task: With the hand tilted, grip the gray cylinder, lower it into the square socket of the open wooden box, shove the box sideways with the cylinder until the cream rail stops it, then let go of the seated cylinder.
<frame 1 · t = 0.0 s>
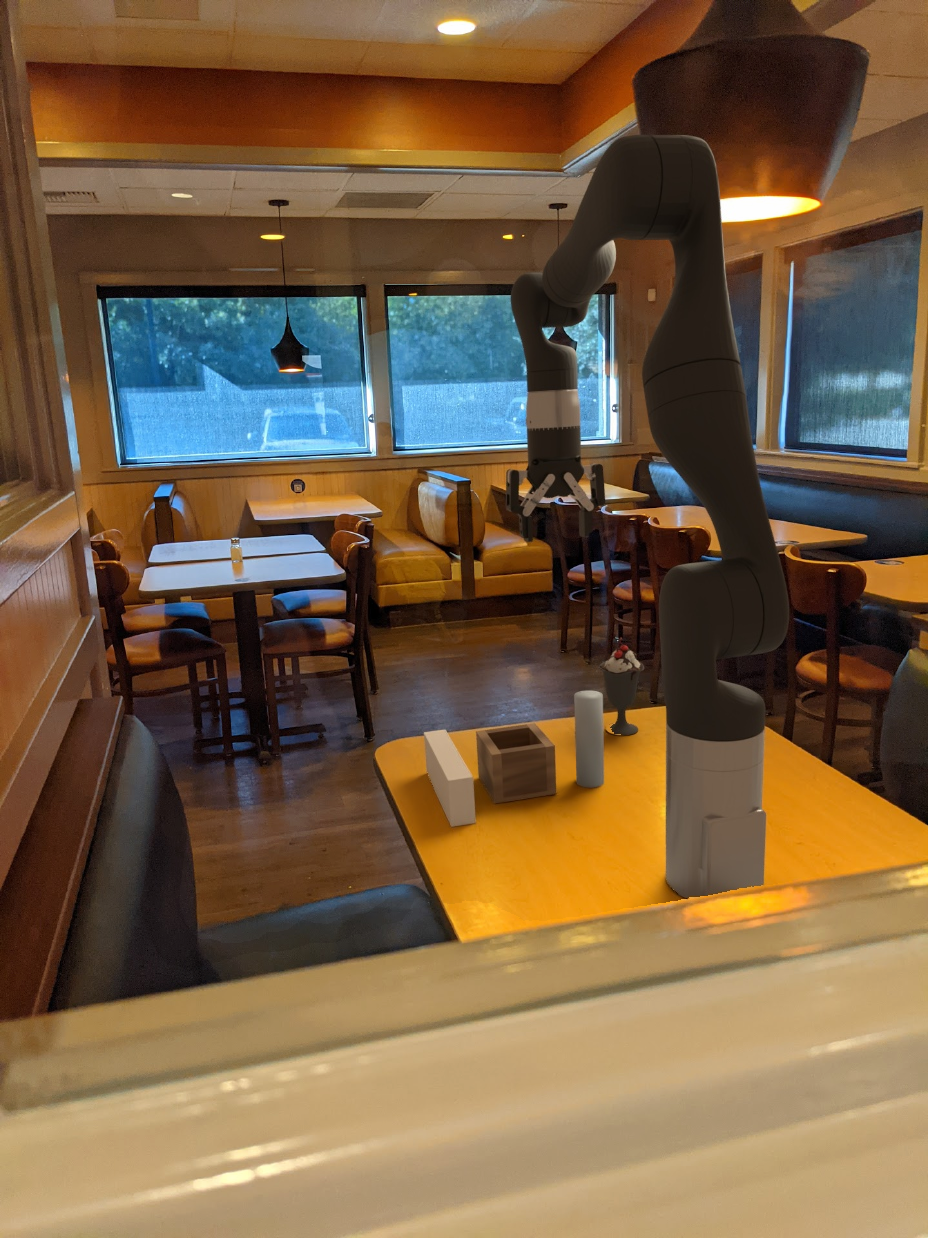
hand: (556, 539, 120), 29 cm above the table, tool pointing down, fingers open, 8 cm apart
rail: (449, 796, 107), on the table
sundae: (621, 731, 126), on the table
open wooden box: (515, 762, 108), point 3 cm above the table, slide at 0.0 cm
gray cylinder: (590, 781, 109), on the table
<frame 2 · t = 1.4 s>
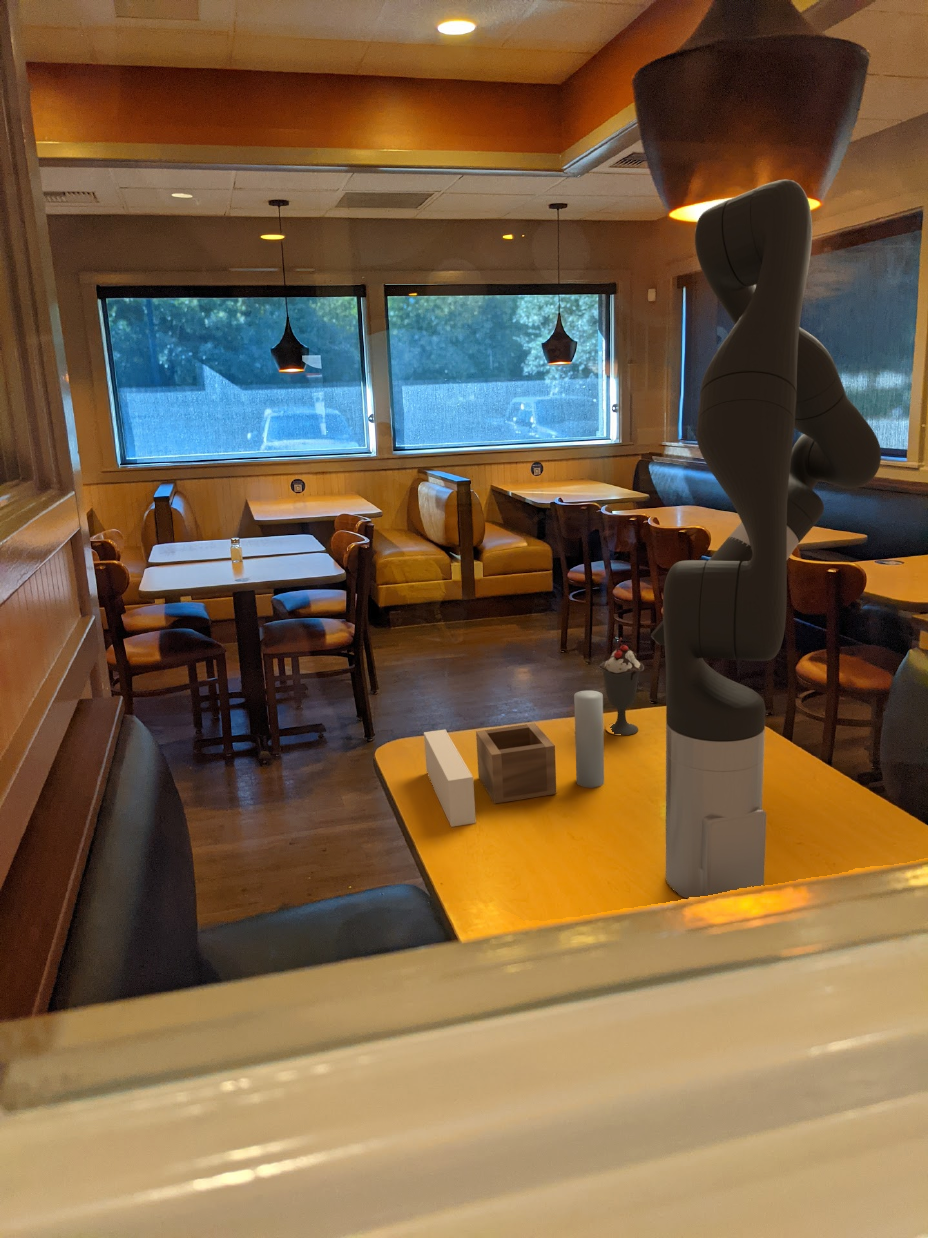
hand: (670, 649, 107), 17 cm above the table, tool tilted 45°, fingers open, 8 cm apart
nothing on the table moved.
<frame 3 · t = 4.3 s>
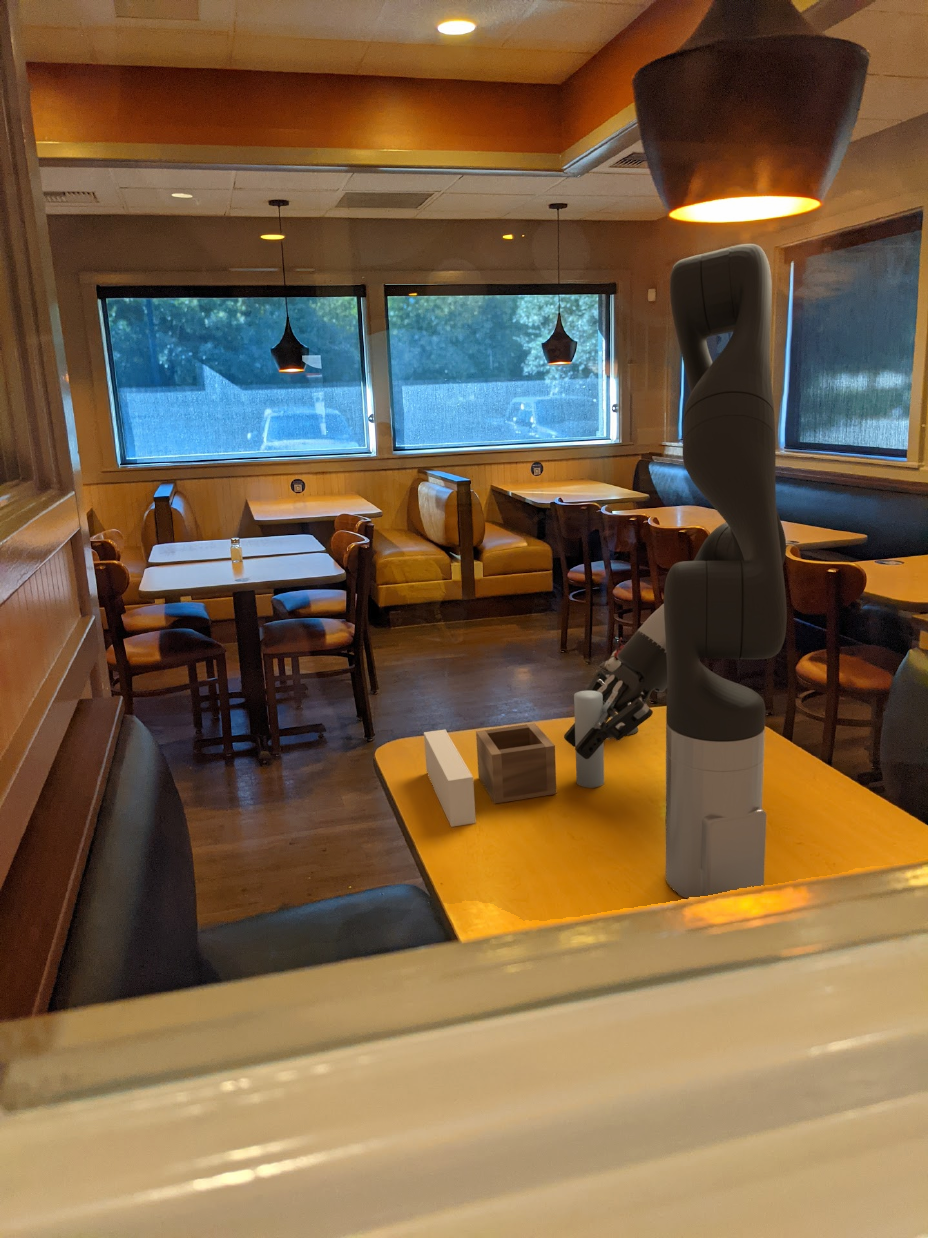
hand: (575, 748, 107), 5 cm above the table, tool tilted 45°, fingers closed on gray cylinder, 3 cm apart
gray cylinder: (590, 781, 109), on the table, touching gripper
everything else where it was.
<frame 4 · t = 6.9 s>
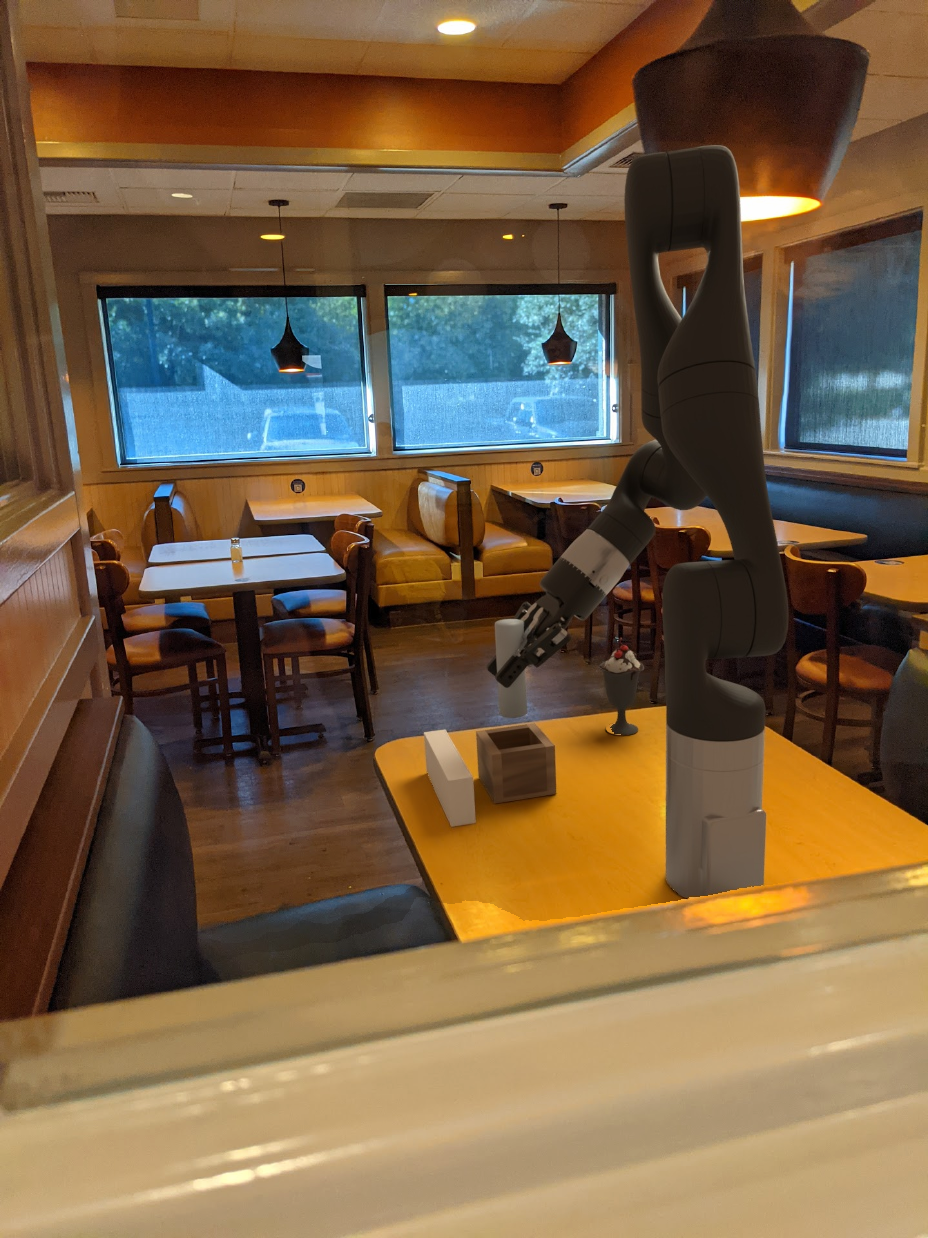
hand: (496, 677, 105), 15 cm above the table, tool tilted 45°, fingers closed on gray cylinder, 3 cm apart
gray cylinder: (513, 712, 107), point 10 cm above the table, touching gripper
everything else where it was.
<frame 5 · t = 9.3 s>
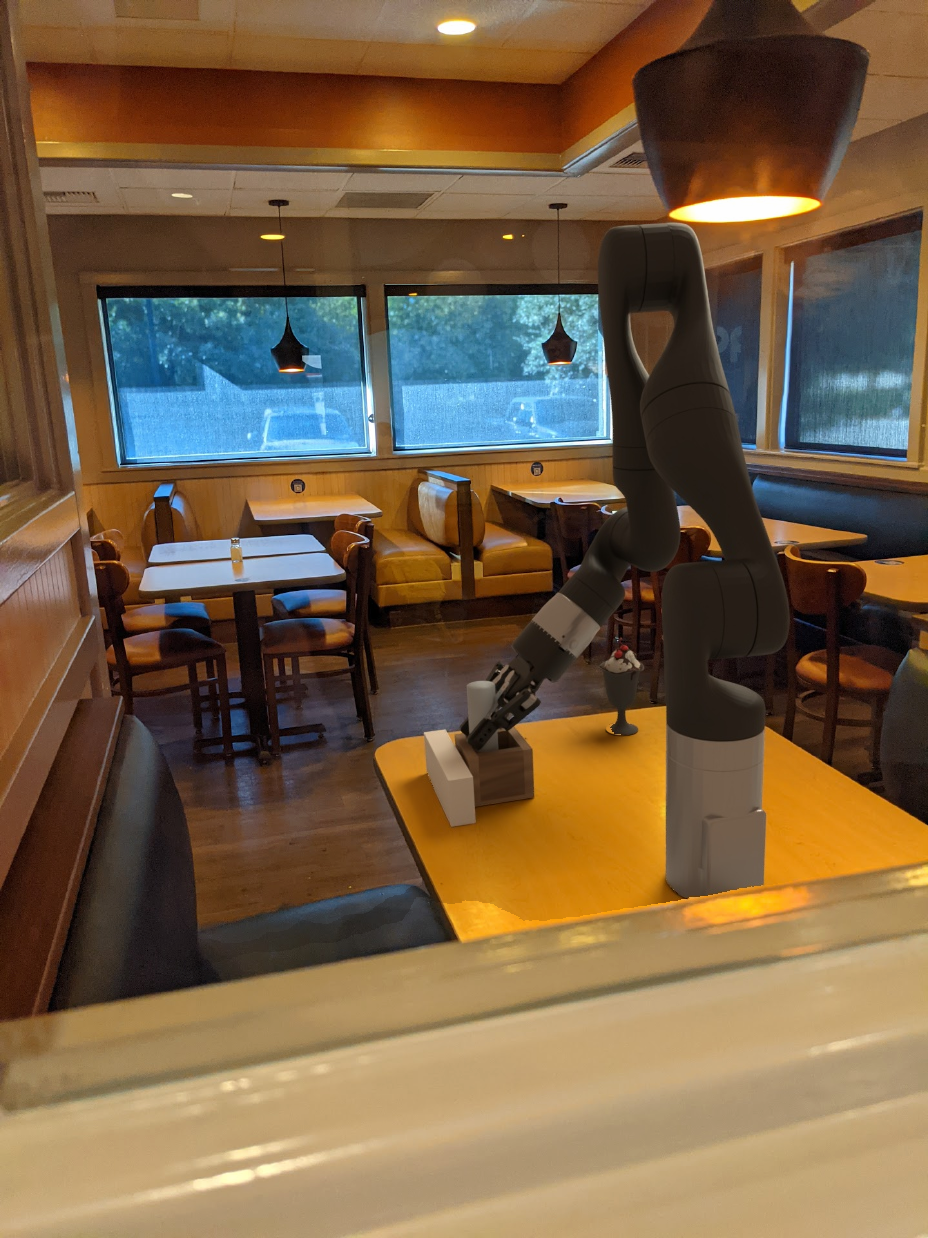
hand: (468, 739, 106), 7 cm above the table, tool tilted 45°, fingers closed on gray cylinder, 3 cm apart
open wooden box: (493, 765, 108), point 3 cm above the table, slide at 2.9 cm, touching gray cylinder
gray cylinder: (485, 773, 108), point 2 cm above the table, touching open wooden box, gripper
everything else where it was.
when the fingers open (7 cm above the table, at t = 9.5 s): gray cylinder drops 2 cm, resting on open wooden box.
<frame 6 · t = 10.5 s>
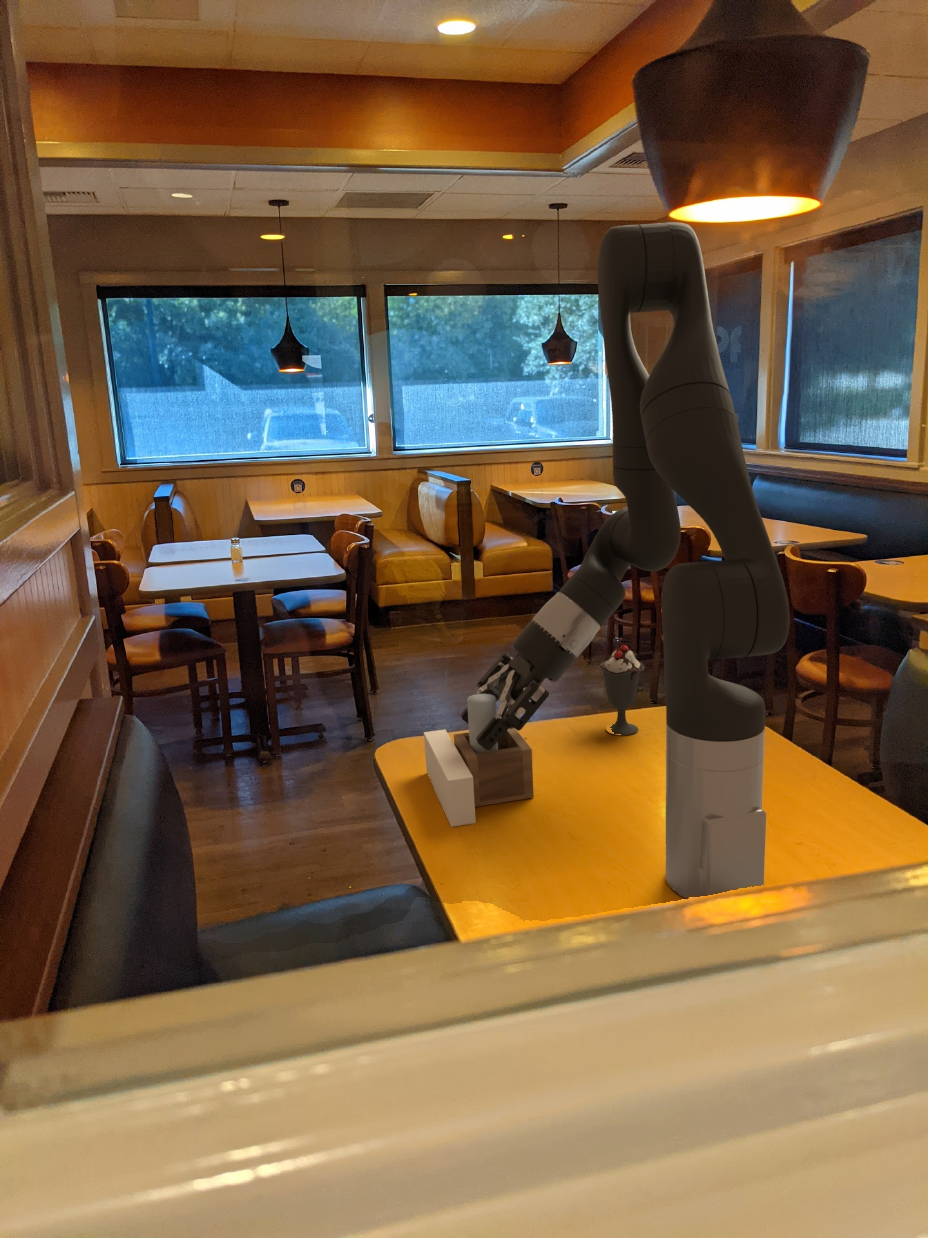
hand: (473, 733, 106), 8 cm above the table, tool tilted 45°, fingers open, 8 cm apart
gray cylinder: (486, 785, 108), point 1 cm above the table, touching open wooden box
everything else where it was.
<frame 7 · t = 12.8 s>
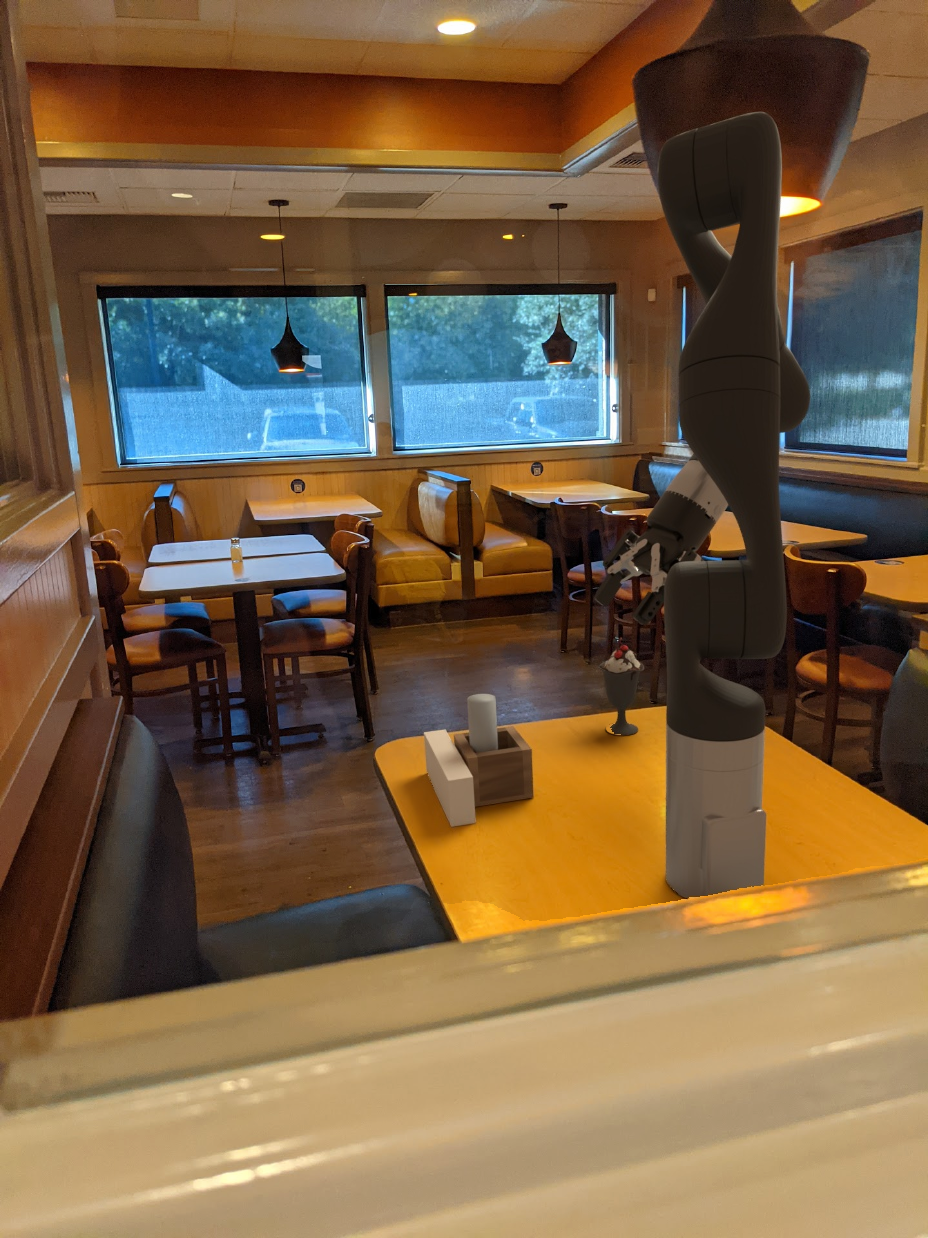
hand: (618, 611, 105), 22 cm above the table, tool tilted 40°, fingers open, 8 cm apart
nothing on the table moved.
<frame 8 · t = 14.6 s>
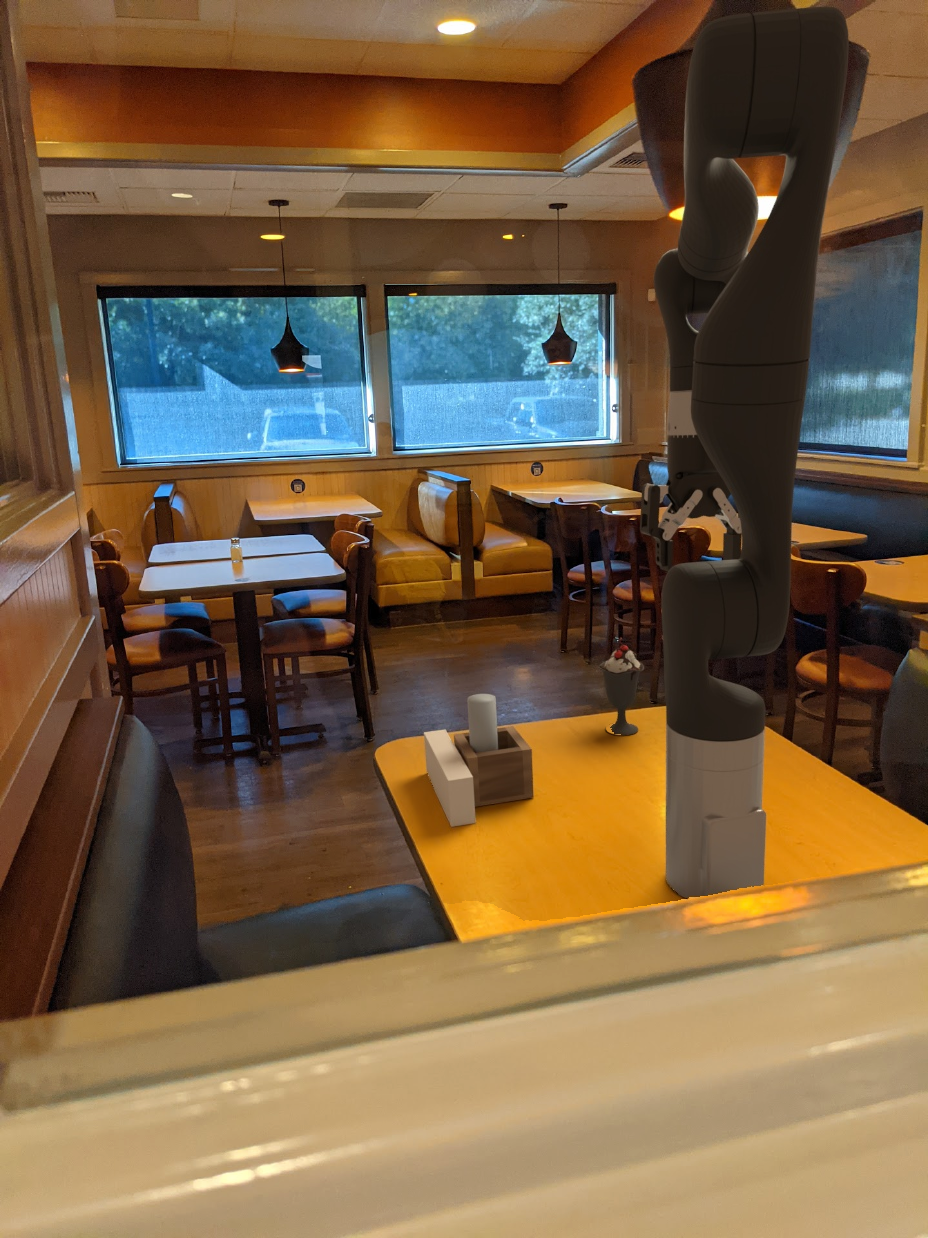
hand: (698, 566, 101), 28 cm above the table, tool pointing down, fingers open, 8 cm apart
nothing on the table moved.
at the end: open wooden box slide at 3.0 cm; gray cylinder 1.0 cm off-centre on the open wooden box, point 0.7 cm above the open wooden box's base; gray cylinder tilted 0° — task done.
